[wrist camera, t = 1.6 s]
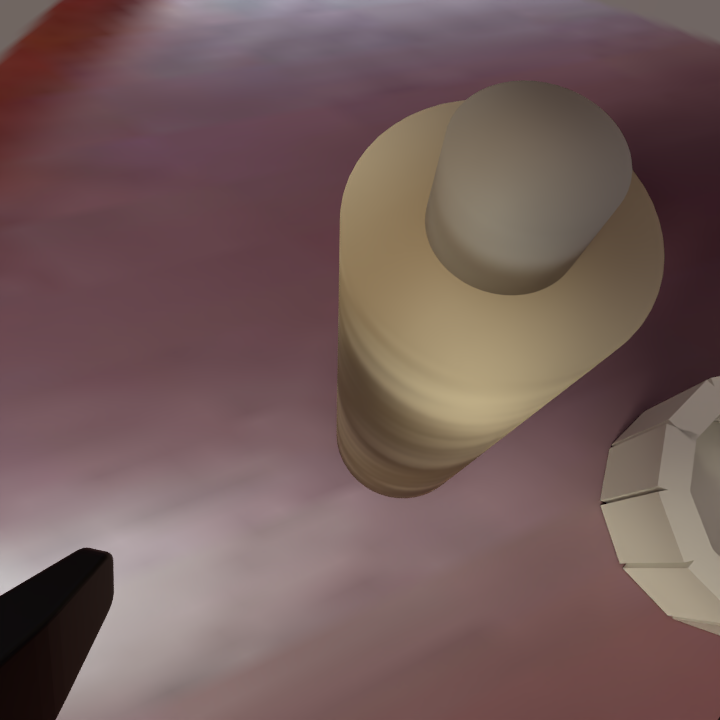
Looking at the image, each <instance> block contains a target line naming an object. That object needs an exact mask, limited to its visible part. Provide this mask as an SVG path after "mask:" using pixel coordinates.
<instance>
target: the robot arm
mask: <svg viewBox="0 0 720 720" xmlns="http://www.w3.org/2000/svg"><path fill="white" fill-rule="evenodd" d="M113 595H114V575H113V557H112V555H111V554H110V553H108V552H105V551H101V550H96V549H92V548H82V549H79V550H77V551H75V552H74V553H72V554H70V555H69V556H67V557H65V558H64V559H62V560H60V561H59V562H57V563H55V564H53V565H52V566H50V567H48V568H47V569H45V570H43V571H42V572H40V573H38V574H37V575H35V576H33V577H31V578H30V579H28V580H26V581H25V582H23V583H21V584H20V585H18V586H16V587H15V588H13V589H11V590H9V591H8V592H6V593H4V594H3V595H1V596H0V720H56V718H57V716H58V714H59V712H60V710H61V708H62V706H63V704H64V702H65V700H66V698H67V696H68V694H69V692H70V690H71V688H72V686H73V684H74V682H75V680H76V677H77V675H78V673H79V671H80V669H81V667H82V665H83V663H84V661H85V659H86V657H87V655H88V653H89V651H90V649H91V647H92V644H93V642H94V640H95V638H96V636H97V634H98V632H99V630H100V628H101V626H102V624H103V622H104V620H105V618H106V616H107V614H108V611H109V609H110V606H111V604H112V600H113ZM718 720H720V717H719V719H718Z"/></svg>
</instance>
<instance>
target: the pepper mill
mask: <svg viewBox="0 0 720 720" xmlns="http://www.w3.org/2000/svg"><path fill="white" fill-rule="evenodd" d="M663 269H664V242H663V235H662V231H661V226H660V221H659V218H658V216H657V213H656V210H655V208H654V205H653V203H652V201H651V199H650V197H649V195H648V193H647V191H646V189H645V187H644V186H643V184H642V183H641V181H640V180H639V178H638V177H637V176H636V174H635V173H634V171H633V170H632V160H631V155H630V150H629V148H628V145H627V142H626V140H625V138H624V136H623V134H622V132H621V131H620V129H619V128H618V126H617V125H616V124H615V122H614V121H613V120H612V119H611V118H610V117H609V116H608V115H607V114H606V113H605V112H604V111H603V110H602V109H601V108H600V107H598V106H597V105H596V104H594V103H593V102H592V101H590V100H589V99H587V98H585V97H583V96H582V95H580V94H578V93H576V92H573V91H571V90H569V89H566V88H563V87H560V86H558V85H553V84H549V83H544V82H537V81H511V82H505V83H500V84H496V85H493V86H490V87H487V88H485V89H483V90H480V91H479V92H477V93H475V94H474V95H472V96H471V97H469V98H468V99H467V100H464V101H457V102H451V103H445V104H441V105H438V106H434V107H431V108H427V109H424V110H422V111H420V112H417V113H415V114H413V115H410V116H408V117H407V118H405V119H403V120H401V121H400V122H398V123H396V124H395V125H393V126H392V127H390V128H389V129H388V130H386V131H385V132H384V133H383V134H381V135H380V136H379V137H378V138H377V139H376V140H375V141H374V142H373V143H372V144H371V145H370V146H369V147H368V148H367V149H366V151H365V152H364V153H363V155H362V156H361V158H360V159H359V160H358V162H357V163H356V165H355V167H354V169H353V171H352V173H351V175H350V177H349V179H348V182H347V185H346V188H345V191H344V194H343V199H342V205H341V211H340V257H339V318H338V380H337V444H338V448H339V452H340V454H341V457H342V459H343V462H344V463H345V465H346V467H347V468H348V470H349V471H350V472H351V474H352V475H353V476H354V477H355V478H356V479H357V480H358V481H359V482H360V483H361V484H363V485H364V486H365V487H367V488H369V489H370V490H372V491H374V492H376V493H379V494H381V495H385V496H388V497H394V498H412V497H417V496H421V495H424V494H427V493H429V492H431V491H433V490H435V489H437V488H438V487H440V486H441V485H442V484H444V483H445V482H446V481H447V480H449V479H450V478H451V477H453V476H454V475H455V474H456V473H458V472H459V471H460V470H462V469H463V468H464V467H466V466H467V465H468V464H469V463H471V462H472V461H473V460H475V459H476V458H477V457H479V456H480V455H481V454H482V453H484V452H485V451H486V450H488V449H489V448H490V447H491V446H493V445H494V444H495V443H497V442H498V441H499V440H501V439H502V438H503V437H504V436H506V435H507V434H508V433H510V432H511V431H512V430H513V429H515V428H516V427H517V426H519V425H520V424H521V423H523V422H524V421H525V420H526V419H528V418H529V417H530V416H532V415H533V414H534V413H536V412H537V411H538V410H539V409H541V408H542V407H543V406H545V405H546V404H547V403H548V402H550V401H551V400H552V399H554V398H555V397H556V396H558V395H559V394H560V393H561V392H563V391H564V390H565V389H567V388H568V387H569V386H571V385H572V384H573V383H574V382H576V381H577V380H578V379H580V378H581V377H582V376H583V375H585V374H586V373H587V372H589V371H590V370H591V369H593V368H594V367H595V366H596V365H598V364H599V363H600V362H602V361H603V360H604V359H605V358H607V357H608V356H609V355H611V354H612V353H613V352H614V351H616V350H617V349H618V348H619V347H621V346H622V345H623V344H624V343H626V342H627V341H628V340H629V339H630V338H631V337H632V336H633V334H634V333H635V332H636V331H637V330H638V329H639V328H640V327H641V325H642V324H643V322H644V321H645V319H646V317H647V316H648V314H649V313H650V311H651V309H652V307H653V305H654V302H655V300H656V298H657V296H658V293H659V289H660V285H661V281H662V277H663Z"/></svg>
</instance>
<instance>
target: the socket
mask: <svg viewBox="0 0 720 720" xmlns="http://www.w3.org/2000/svg"><path fill="white" fill-rule="evenodd" d="M612 446H613V447H612V448H610V449H609V454H608V459H607V465H606V470H605V476H604V481H603V487H602V492H601V498H600V501H603V502H606V503H608V504H604V505H600V506H601V509H602V512H603V515H604V518H605V521H606V524H607V527H608V530H609V533H610V536H611V539H612V542H613V545H614V548H615V551H616V554H617V557H618V560H619V563H627V564H626V565H625V566H624V567H623V569H624V570H625V571H626V572H627V573H628V574H629V575H630V576H631V577H632V578H633V579H634V580H635V582H636V583H637V584H638V585H639V586H640V587H641V588H642V589H643V590H644V591H645V592H646V593H647V594H648V595H649V596H650V597H651V598H652V599H653V600H654V601H655V602H656V604H657V605H658V606H659V607H660V608H661V609H662V610H663V611H664V612H665V613H666V614H667V615H668V616H673V619H675V620H678V621H681V622H683V623H686V624H689V625H692V626H695V627H697V628H700V629H703V630H706V631H709V632H711V633H714V634H717V635H720V376H718V377H712V378H709V379H707V380H705V381H703V382H701V383H700V384H698V385H696V386H694V387H692V388H690V389H688V390H686V391H684V392H682V393H680V394H678V395H676V396H674V397H672V398H670V399H668V400H666V401H664V402H662V403H660V404H658V405H656V406H654V407H652V408H650V409H648V410H646V411H644V412H643V413H642V414H641V415H640V416H639V417H638V418H637V419H636V420H635V421H634V422H633V423H632V424H631V426H630V427H629V428H628V429H627V430H626V431H625V432H624V433H623V434H622V435H621V436H620V437H619V438H618V439H617V440H616V441H615V442H614V443H613V444H612Z"/></svg>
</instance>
